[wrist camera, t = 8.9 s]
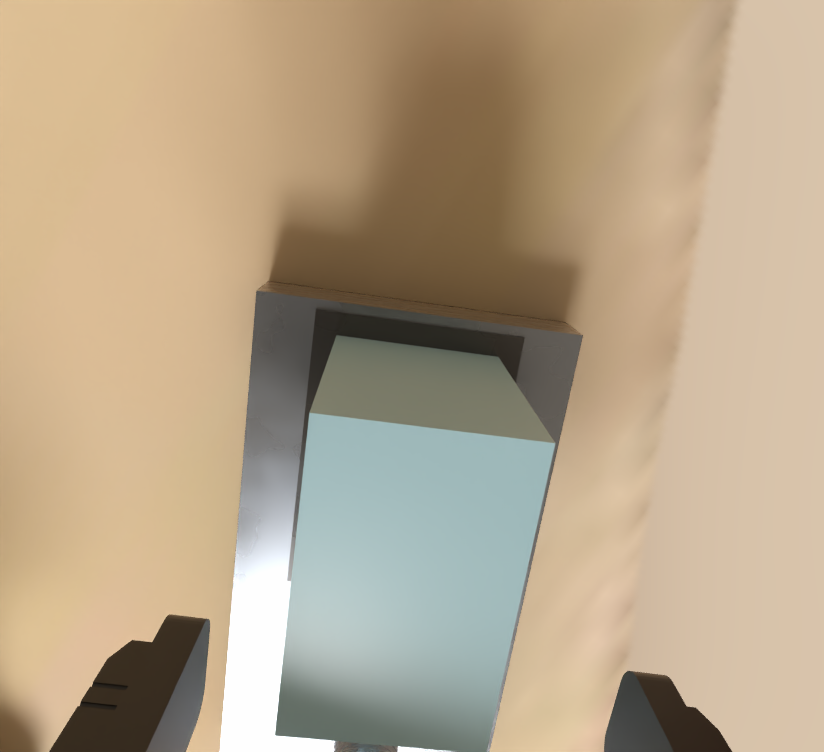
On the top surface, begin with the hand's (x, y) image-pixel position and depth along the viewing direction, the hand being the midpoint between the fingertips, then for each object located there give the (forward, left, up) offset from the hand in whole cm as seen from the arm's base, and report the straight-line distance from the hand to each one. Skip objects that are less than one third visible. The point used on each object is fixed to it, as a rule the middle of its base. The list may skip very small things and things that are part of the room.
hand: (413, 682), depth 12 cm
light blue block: (0, 0, -9) cm, 9 cm away
